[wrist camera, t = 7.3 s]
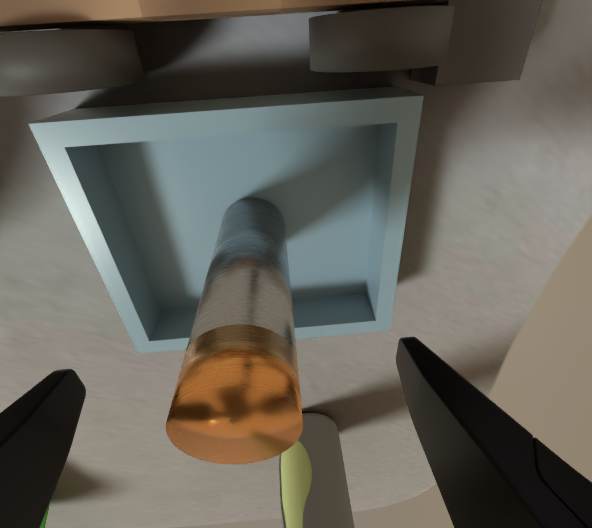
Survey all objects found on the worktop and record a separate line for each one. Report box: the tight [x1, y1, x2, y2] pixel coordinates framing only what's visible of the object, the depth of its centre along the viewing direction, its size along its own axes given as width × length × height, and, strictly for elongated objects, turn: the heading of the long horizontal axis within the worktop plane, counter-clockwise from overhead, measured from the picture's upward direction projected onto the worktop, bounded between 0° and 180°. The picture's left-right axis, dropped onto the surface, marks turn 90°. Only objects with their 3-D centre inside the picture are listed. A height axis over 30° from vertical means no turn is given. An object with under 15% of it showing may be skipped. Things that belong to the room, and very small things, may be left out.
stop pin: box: [166, 197, 303, 464], centre depth 11 cm, size 3×3×10 cm
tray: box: [29, 86, 424, 354], centre depth 15 cm, size 13×11×3 cm
